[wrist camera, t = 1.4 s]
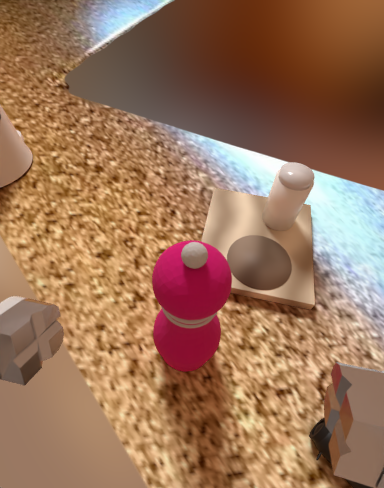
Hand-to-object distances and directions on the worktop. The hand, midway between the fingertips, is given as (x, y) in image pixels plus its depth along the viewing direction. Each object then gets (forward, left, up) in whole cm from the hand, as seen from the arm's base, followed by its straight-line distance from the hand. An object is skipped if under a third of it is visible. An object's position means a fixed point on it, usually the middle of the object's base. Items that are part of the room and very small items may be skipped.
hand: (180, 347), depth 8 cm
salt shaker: (+9, +30, -25) cm, 40 cm away
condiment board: (+6, +25, -26) cm, 37 cm away
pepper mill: (-1, +8, -27) cm, 28 cm away
